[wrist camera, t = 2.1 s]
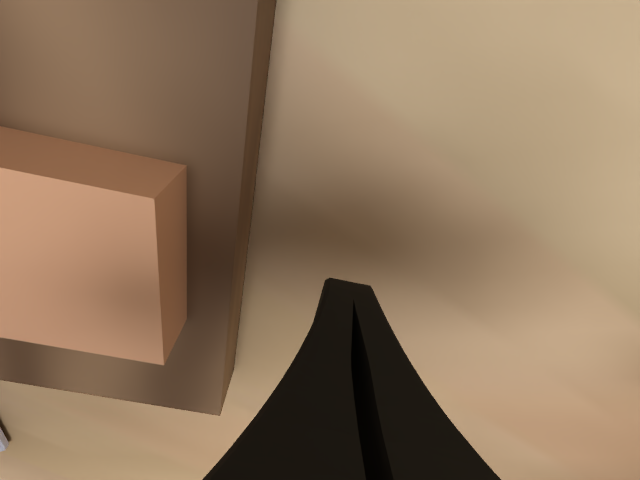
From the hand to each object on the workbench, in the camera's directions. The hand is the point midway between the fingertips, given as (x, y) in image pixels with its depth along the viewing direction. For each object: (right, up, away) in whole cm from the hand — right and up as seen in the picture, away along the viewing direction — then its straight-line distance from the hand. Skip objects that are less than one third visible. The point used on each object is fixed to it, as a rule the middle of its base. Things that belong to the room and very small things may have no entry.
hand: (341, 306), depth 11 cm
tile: (-8, +2, 0) cm, 9 cm away
